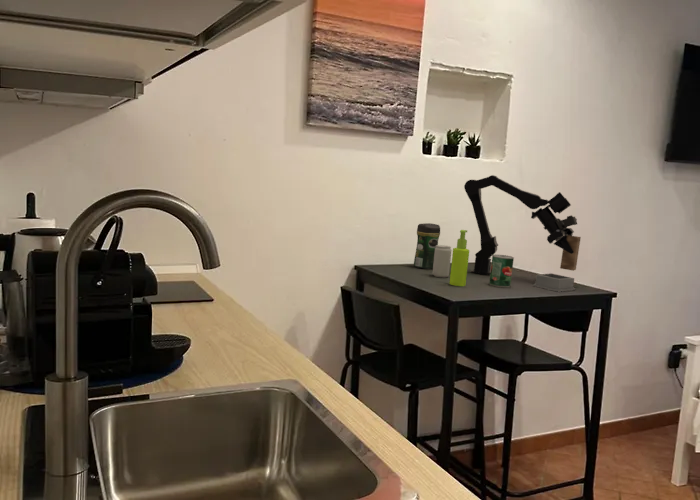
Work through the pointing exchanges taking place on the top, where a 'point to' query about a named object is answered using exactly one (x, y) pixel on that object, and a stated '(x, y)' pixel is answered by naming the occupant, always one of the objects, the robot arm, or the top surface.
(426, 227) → the coffee jar
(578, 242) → the brown wooden block
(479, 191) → the robot arm
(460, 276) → the soap dispenser
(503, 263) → the canned tomato
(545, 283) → the grey square tray
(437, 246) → the beverage can
